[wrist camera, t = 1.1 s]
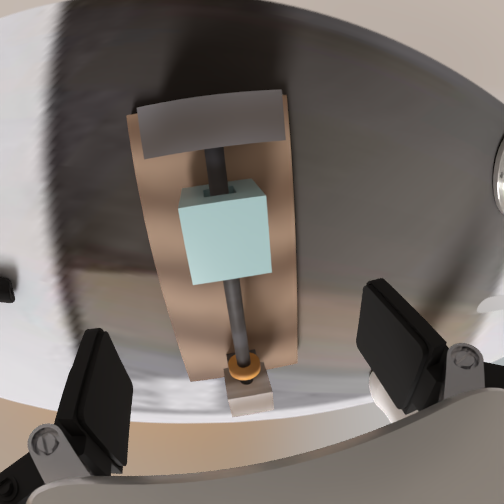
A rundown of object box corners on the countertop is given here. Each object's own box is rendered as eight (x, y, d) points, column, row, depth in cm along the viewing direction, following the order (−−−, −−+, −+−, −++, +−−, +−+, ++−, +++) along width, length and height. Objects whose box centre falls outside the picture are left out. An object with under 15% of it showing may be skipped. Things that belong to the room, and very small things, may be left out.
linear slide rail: (130, 115, 21) (102, 115, 14) (281, 96, 22) (315, 88, 16) (190, 372, 33) (192, 425, 26) (293, 354, 34) (313, 403, 27)
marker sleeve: (182, 188, 21) (177, 208, 17) (251, 178, 22) (266, 195, 17) (193, 251, 23) (193, 285, 19) (257, 241, 24) (271, 272, 19)
